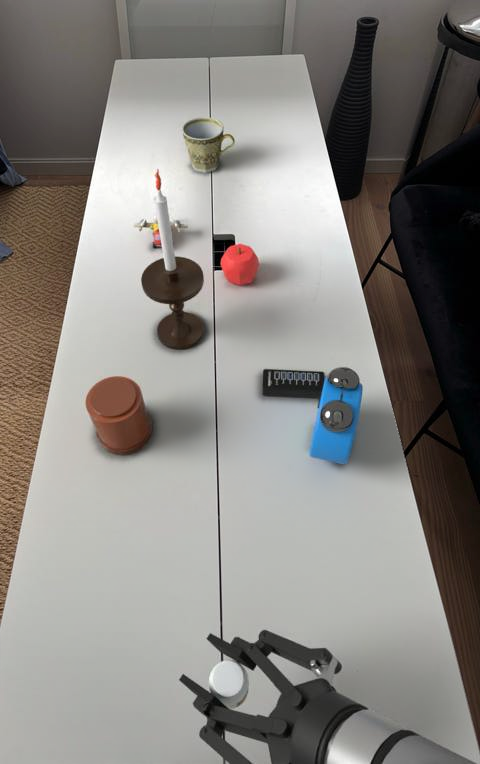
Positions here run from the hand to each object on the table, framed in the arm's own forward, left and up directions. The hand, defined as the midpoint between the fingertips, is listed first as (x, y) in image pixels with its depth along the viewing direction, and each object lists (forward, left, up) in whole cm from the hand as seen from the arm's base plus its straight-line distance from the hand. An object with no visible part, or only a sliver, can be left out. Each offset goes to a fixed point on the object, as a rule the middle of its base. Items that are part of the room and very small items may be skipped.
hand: (202, 662), depth 63 cm
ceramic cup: (+93, +68, -12) cm, 116 cm away
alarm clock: (+40, +4, -12) cm, 42 cm away
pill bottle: (0, -4, -3) cm, 5 cm away
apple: (+64, +39, -12) cm, 76 cm away
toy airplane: (+65, +61, -12) cm, 90 cm away
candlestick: (+45, +40, -12) cm, 62 cm away
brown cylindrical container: (+22, +34, -12) cm, 42 cm away
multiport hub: (+46, +15, -12) cm, 50 cm away
